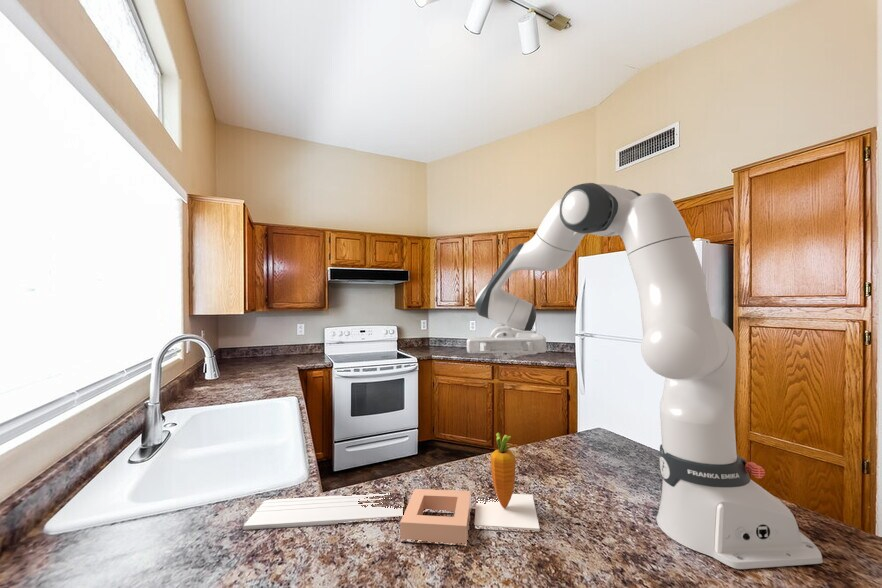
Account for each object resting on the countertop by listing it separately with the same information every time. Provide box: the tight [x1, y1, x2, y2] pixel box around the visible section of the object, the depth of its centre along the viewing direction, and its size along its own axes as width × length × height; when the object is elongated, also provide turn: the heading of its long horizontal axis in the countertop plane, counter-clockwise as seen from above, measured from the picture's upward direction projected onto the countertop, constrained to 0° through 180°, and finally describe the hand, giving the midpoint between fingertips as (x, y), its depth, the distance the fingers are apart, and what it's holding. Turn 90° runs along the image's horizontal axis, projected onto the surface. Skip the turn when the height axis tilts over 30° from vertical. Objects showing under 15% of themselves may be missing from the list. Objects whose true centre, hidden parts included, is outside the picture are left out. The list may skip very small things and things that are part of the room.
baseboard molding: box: [242, 484, 407, 531], centre depth 75 cm, size 31×3×12 cm
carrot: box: [490, 432, 516, 509], centre depth 72 cm, size 5×5×15 cm
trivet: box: [474, 493, 541, 532], centre depth 72 cm, size 12×12×1 cm
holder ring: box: [399, 488, 472, 543], centre depth 69 cm, size 12×12×4 cm
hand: (506, 347), depth 85 cm, fingers open, 8 cm apart
